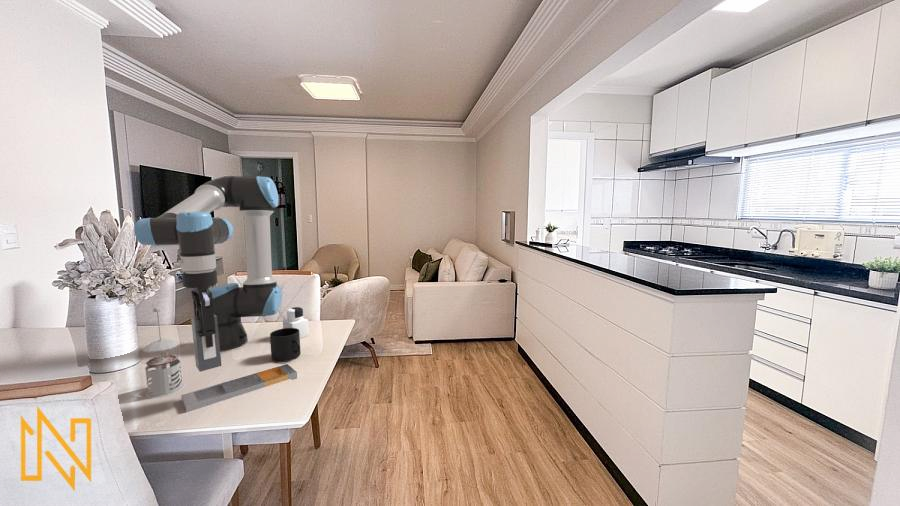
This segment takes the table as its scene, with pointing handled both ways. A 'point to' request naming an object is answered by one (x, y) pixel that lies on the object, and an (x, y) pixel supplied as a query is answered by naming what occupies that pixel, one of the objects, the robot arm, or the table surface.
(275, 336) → the mug
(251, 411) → the table surface
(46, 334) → the table surface
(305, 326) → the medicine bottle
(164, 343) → the french press
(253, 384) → the rail
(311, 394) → the table surface
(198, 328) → the graphite post
